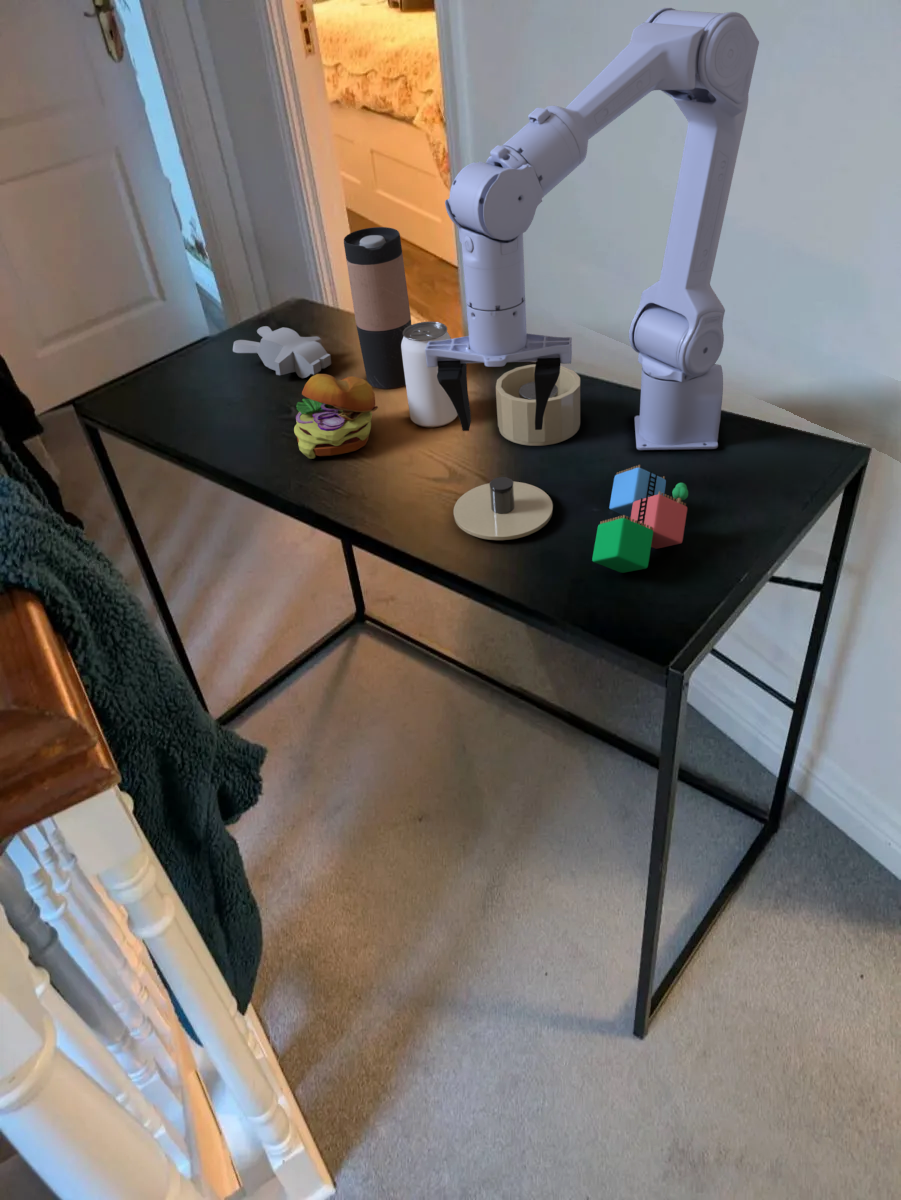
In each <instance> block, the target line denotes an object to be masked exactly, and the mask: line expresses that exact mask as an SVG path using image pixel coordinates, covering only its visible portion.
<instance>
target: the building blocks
mask: <svg viewBox="0 0 901 1200" xmlns="http://www.w3.org/2000/svg"><path fill="white" fill-rule="evenodd" d="M665 478H666V476H665V475H663V476H659V475H658V474H655V473H653V472H652V471H648V470H647V469H644V468H642V467H641V464H638V465H635V466H631V467H628V468H626V469H624V470H621V471H619V472H618V471H617V472H616V474H615V475H614V478H613V482H612V489H611V495H610V501H609V507H608V508H609V510H610V511H612V512H615V513H617V514H619V516H616V517H612V518H607V519H605V520H602V521H600V523H599V524H598V526H597V528H596V529H597V530H596V536H595V540H594V541H595V542H594V545H593V552H592V558H591V559H592V560H591V561H592V562H593V563H595V564H597V565H600V566H602V567H605V568H608V569H609V570H613V571H616V572H617V573H621V574H624V573H629V572H636V571H641V570H645V569H647V568H648V567H649V562H650V557H651V548H652V549H662V548H667V547H671V546H676V545H680V544H682V543H683V540H684V534H685V526H686V520H687V514H688V506H687V502H684V501H685V500H687V498H688V497H689V490H688V487H687V484H686V483H685V482H678V483H677V484H676V485H675V487H674V488H673V489H672V492H671V493H672V496H670V495H667V493H666V485H667V480H666V479H665Z"/></svg>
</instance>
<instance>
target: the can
mask: <svg viewBox="0 0 901 1200" xmlns="http://www.w3.org/2000/svg"><path fill="white" fill-rule="evenodd" d="M403 336H404V337H403V339H402V343H401V350H402V359H403V367H404V374H405V382H406V385H405V389H406V397H407V403H408V411H409V417H410V420H411V421H412V423H414V424H416V426H419V427H423V428H440V427H443V426H447V425H449V424H451V423H452V422H454V421H455V420H456V418H457V417H458V414H457V412H456V409H455V407H454V405H453V403H452V401H451V399H450V398H449V396H448V395H447V393H446V392H445V390H444V389H443V388H442V386H441V385H440V384H439V381H438V379H437V373H438V366H437V367H427V362H426V352H425V349H426V346H427V343H428V342H429V341H442V340H448V339H452V337H451V335H450V334H449V332H448V327H447V325H446V324H444V323H442V322H439V321H421V322H416V323H413V324H411V325H410V326H408V327H407V328H405V329H404V331H403Z"/></svg>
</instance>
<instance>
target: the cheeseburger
mask: <svg viewBox="0 0 901 1200" xmlns="http://www.w3.org/2000/svg"><path fill="white" fill-rule="evenodd" d="M301 395H302V396H303V397H305V398H302V400H301V401H302V402H301V401H297V403H296V405H295V407H296V411H297V412H298V413H297V414H296V415H295V421H296V424H295V425H294V428H293V432H294V435H295V436H296V440H297V443H298V444H297V445H298V449H299V451H300V452H301V453H302V454H303V456H305V457H307V459H311V460H312V459H313V460H314V459H316V458H317V456H318V457H331V456H332V457H333V456H338V455H344V454H348V453H353V452H356V451H358V450H359V449H361V448H363V447H364V446H366V445H367V442H368V440H369V438H370V437H369V436H370V432H371V429H372V419H373V418H372V417H373V412H375V411H376V410H378V409H379V407H378V406H377V405H376V394H375V391H374V389H373V386H371V385H370V384H369V383H368V381H367V380H366V379H363V378H362V377H359V376H347V377H344V378H343V379H336V378H335V376H332V375H330V374H327V373H316V374H314V375H311V377H310V378H309V379H308V380H307V382H306V383H305V384H304V387H303V389H302V391H301Z"/></svg>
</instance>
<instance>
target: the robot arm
mask: <svg viewBox="0 0 901 1200" xmlns="http://www.w3.org/2000/svg"><path fill="white" fill-rule="evenodd" d="M759 46H760V40H759V39H758V37H757V35H756V34H755V31H754V30H753V28H752V26H751V24H750V23H749V21H748V18H746V17H745V15H744V14H742V13H741V12H737V11H729V12H728V11H727V12H712V11H711V12H710V11H709V12H708V11H707V12H706V11H696V10H695V11H693V10H681V9H680V10H679V9H676V8H672V7H662V8H659V9H657V10H655V11H654V12H653V13H651V14H650V16H649V17H648V18H647V19H646V20H645V21H644V22H642V23H640V24H639V25H637V26H635V27H634V28H633V30H632V32H631V36H630V40H629V43H628V44H627V45H626V46H625V47H624V48H623V49H622V50H621V51H620V52H619V53H618V54H617V55H616V56H615V57H614V58H613V59H612V60H611V61H610V62H609V63H608V64H607V65H606V66H605V67H604V68H603V69H602V71H600V72H599V73H598V75H596V77H594V78H593V79H592V80H591V81H590V82H589V83H588V84H587V85H586V86H585V88H583V89H582V90H581V91H580V92H579V93H578V94H577V95H576V96H575V97H574V99H573V100H572V101H571V102H569V103H568V104H567V105H566V106H565V107H562V106H559V105H547V106H545V107H544V108H543V107H535V108H534V110H532V111H531V112H530V113H529V114H528V115H527V118H528V120H529V121H528V122H527V123H526V124H524V126H523V127H521V128H520V129H519V130H518V131H517V132H516V133H515V134H514V135H512V136H511V137H510V138H509V139H508V140H506V142H504V143H503V144H502V145H499V144H498V145H496V146H495V147H494V148H492V149H491V150H490V151H489V154H490V155H489V157H487V159H486V161H485V162H484V161H478V162H477V161H473V162H471V163H469V164H467V165H465V166H464V167H463V168H461V170H460V171H459V172H458V173H457V175H456V176H455V177H454V179H453V181H452V183H451V186H450V190H449V198H448V199H445V201H444V205H445V210H446V213H447V215H448V217H449V219H450V220H451V221H452V223H453V224H454V225H455V226H456V227H457V230H458V237H459V238H458V239H459V243H460V244H461V251H462V252H461V253H462V266H463V267H462V269H463V279H464V280H463V281H464V292H465V294H464V295H465V304H466V306H465V307H466V317H467V318H466V319H467V331H468V335H466V336H461V337H459V336H458V337H454V338H451V339H448V340H442V341H429V342H428V343H427V346H426V349H425V352H426V362H427V367H437V366H438V373H437V379H438V381H439V384H440V385H441V386H442V388H443V389H444V390H445V392H446V393H447V395H448V396H449V398H450V399H451V401H452V403H453V405H454V407H455V409H456V412H457V414H458V415H457V417H458V419H459V422H460V425H461V431H462V432H469V431H470V428H471V424H472V414H471V413H472V412H471V405H470V397H469V391H468V369H467V365H468V364H484V366H485V367H487V368H498V367H499V368H501V367H505V366H506V365H507V363H528V362H529V363H532V362H534V363H535V364H536V366H535V373H534V379H535V394H536V412H535V430H542V425H543V416H544V411H545V408H546V405H547V402H548V399H549V396H550V394H551V392H552V390H553V388H554V386H555V384H556V382H557V380H558V377H559V374H560V366H561V364H562V365H565V364H567V365H569V364H572V357H573V338H572V337H571V336H552V335H543V334H535V333H529V332H527V310H526V308H527V307H526V305H527V303H526V283H525V282H526V281H525V280H526V279H525V278H526V277H525V255H524V254H525V251H524V249H525V248H524V233H526V232H527V230H529V228H530V226H531V224H532V223H533V220H534V218H535V216H536V215H535V214H536V211H537V208H538V206H539V205H540V204H541V203H542V202H543V198H544V197H545V196H547V194H549V193H550V192H551V191H552V190H553V189H555V188H556V187H557V186H558V185H560V183H561V182H562V181H563V180H564V179H566V178H567V177H568V176H569V175H570V174H572V172H573V171H575V170H576V169H577V168H578V167H579V166H580V165H581V164H582V163H583V162H584V161H585V159H586V157H587V154H588V147H589V145H588V144H589V140H590V139H591V138H593V137H594V136H595V135H597V134H598V133H599V132H600V131H602V130H603V129H604V128H606V127H607V126H608V125H610V124H611V123H612V122H613V121H615V120H616V119H618V118H619V117H620V116H621V115H623V114H624V113H625V112H627V111H628V110H629V109H631V108H632V107H633V106H634V105H636V104H637V103H638V102H639V101H641V100H642V99H643V98H645V97H646V96H647V95H648V94H649V93H651V92H652V91H653V92H654V91H661V92H662V93H664V94H665V95H667V96H669V97H670V98H672V99H673V101H674V103H675V104H676V105H677V107H678V108H679V110H680V111H681V113H682V114H683V116H684V117H685V119H686V120H687V129H686V134H685V140H684V145H683V151H682V156H681V162H680V166H679V171H678V172H679V173H678V178H677V183H676V189H675V194H674V199H673V204H672V205H673V206H672V211H671V215H670V216H671V217H670V222H669V227H668V231H667V232H668V233H667V238H666V243H665V250H664V255H663V260H662V267H661V272H660V276H659V280H657V281H656V282H654V283H653V284H652V285H650V286H648V287H647V288H645V289H644V290H643V291H642V292H641V296H640V300H639V305H638V308H637V310H636V312H635V314H634V316H633V318H632V320H631V322H630V326H629V331H628V339H629V344H630V347H631V348H632V349H633V351H635V352H636V353H638V355H637V356H638V357H637V358H638V359H637V362H638V363H639V364H640V365H641V381H640V399H639V415H635V416H634V431H635V432H634V434H635V448H636V450H638V451H669V450H671V451H675V450H676V451H678V450H717V449H718V447H719V443H718V441H719V432H720V424H721V416H722V415H721V414H722V407H723V406H722V405H723V394H724V373H723V367H722V365H721V364H719V363H718V364H717V361H718V360H719V358H720V356H721V354H722V351H723V348H724V342H725V334H724V328H723V326H724V323H723V322H724V317H725V312H726V308H725V307H724V305H723V303H722V302H721V300H720V298H719V297H718V295H717V294H716V292H715V291H714V289H713V287H712V285H711V281H712V276H713V271H714V267H715V262H716V256H717V252H718V247H719V243H720V239H721V234H722V229H723V224H724V221H725V220H724V219H725V215H726V211H727V206H728V201H729V196H730V192H731V186H732V182H733V177H734V174H735V169H736V164H737V158H738V155H739V149H740V145H741V139H742V135H743V130H744V127H745V121H746V116H747V111H748V106H749V92H750V88H751V83H752V78H753V74H754V70H755V64H756V59H757V55H758V51H759Z"/></svg>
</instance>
